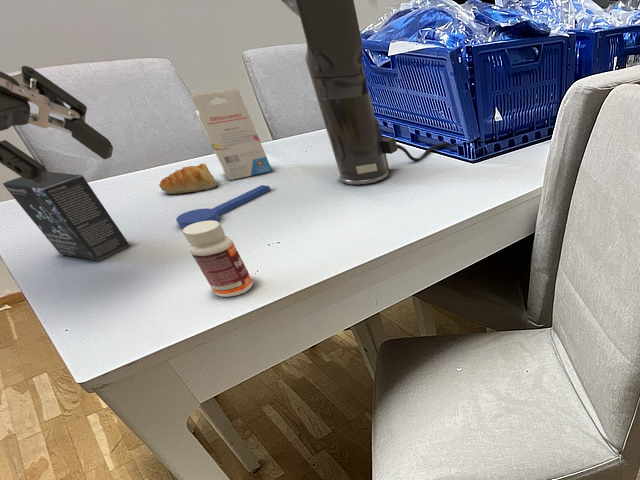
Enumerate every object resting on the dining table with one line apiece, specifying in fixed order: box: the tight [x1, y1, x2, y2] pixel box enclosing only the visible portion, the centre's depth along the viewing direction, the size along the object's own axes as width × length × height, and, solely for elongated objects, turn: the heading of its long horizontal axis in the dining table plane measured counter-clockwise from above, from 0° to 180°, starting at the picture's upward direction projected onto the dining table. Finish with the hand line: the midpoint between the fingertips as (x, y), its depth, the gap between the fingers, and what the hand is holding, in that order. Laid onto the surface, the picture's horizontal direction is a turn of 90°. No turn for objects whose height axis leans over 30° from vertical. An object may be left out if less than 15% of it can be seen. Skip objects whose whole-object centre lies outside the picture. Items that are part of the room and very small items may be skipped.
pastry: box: [158, 163, 218, 195], centre depth 87 cm, size 9×7×4 cm
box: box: [2, 170, 130, 262], centre depth 65 cm, size 8×6×11 cm
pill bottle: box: [182, 221, 254, 298], centre depth 57 cm, size 5×5×8 cm
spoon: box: [175, 184, 271, 230], centre depth 80 cm, size 19×6×1 cm, turn 162°
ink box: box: [191, 88, 273, 181], centre depth 89 cm, size 8×5×15 cm, turn 127°
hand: (79, 164), depth 50 cm, fingers open, 8 cm apart
